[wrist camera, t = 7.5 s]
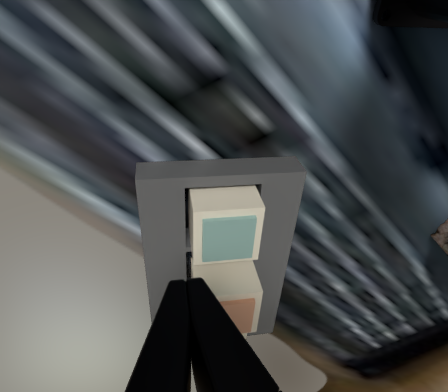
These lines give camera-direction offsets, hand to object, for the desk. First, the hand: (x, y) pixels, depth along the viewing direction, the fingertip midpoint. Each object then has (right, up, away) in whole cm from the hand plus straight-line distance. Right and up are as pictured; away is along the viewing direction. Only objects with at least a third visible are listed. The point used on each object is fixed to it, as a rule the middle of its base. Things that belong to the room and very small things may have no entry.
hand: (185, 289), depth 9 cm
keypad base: (0, -2, +17) cm, 17 cm away
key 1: (+1, +2, +14) cm, 14 cm away
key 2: (+1, -3, +15) cm, 15 cm away
